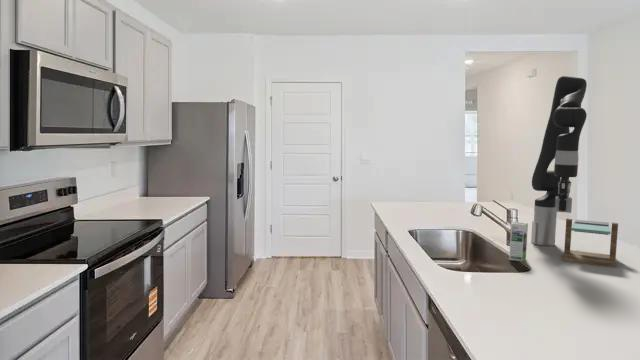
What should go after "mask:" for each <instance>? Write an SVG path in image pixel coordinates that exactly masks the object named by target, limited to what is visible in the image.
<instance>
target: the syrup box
mask: <svg viewBox="0 0 640 360" xmlns="http://www.w3.org/2000/svg"><path fill="white" fill-rule="evenodd" d="M528 226H529V223H528V222H520V221H518V222H517V221H512V222H511V224H510V243H509V246H510V247H509V257H508V259H509V261H517V262H526V260H527V250H528V249H527V247H528V230H529V228H528Z"/></svg>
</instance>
